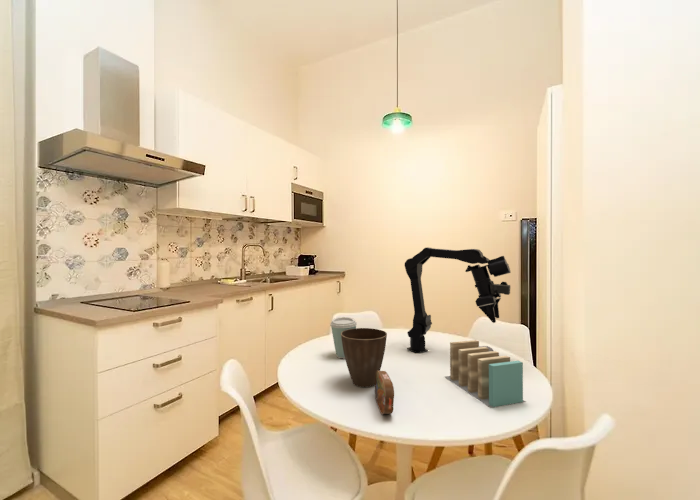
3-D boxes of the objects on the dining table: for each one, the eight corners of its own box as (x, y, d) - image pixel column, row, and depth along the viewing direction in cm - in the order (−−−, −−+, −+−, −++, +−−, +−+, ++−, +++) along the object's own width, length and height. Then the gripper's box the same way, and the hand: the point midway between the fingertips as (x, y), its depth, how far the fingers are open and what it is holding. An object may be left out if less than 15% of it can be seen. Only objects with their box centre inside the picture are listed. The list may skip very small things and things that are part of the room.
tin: (373, 394, 93) (373, 365, 93) (384, 393, 94) (384, 365, 94) (383, 421, 78) (383, 387, 78) (395, 420, 78) (395, 387, 79)
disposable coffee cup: (356, 361, 121) (356, 322, 121) (329, 360, 121) (329, 322, 122) (356, 352, 132) (356, 316, 132) (331, 352, 132) (331, 316, 132)
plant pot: (331, 381, 102) (331, 332, 102) (365, 370, 112) (365, 325, 112) (362, 397, 91) (362, 342, 91) (396, 383, 100) (396, 333, 100)
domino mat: (443, 377, 105) (443, 376, 105) (474, 373, 108) (474, 372, 108) (490, 409, 84) (490, 408, 84) (526, 403, 87) (526, 401, 87)
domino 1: (450, 378, 103) (450, 342, 103) (475, 375, 106) (475, 339, 106) (453, 380, 101) (453, 343, 102) (479, 377, 104) (478, 341, 104)
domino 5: (488, 404, 86) (488, 364, 86) (518, 399, 89) (518, 360, 89) (493, 407, 84) (492, 366, 84) (522, 402, 87) (522, 362, 87)
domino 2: (458, 384, 99) (458, 349, 99) (485, 380, 102) (485, 346, 102) (461, 386, 97) (461, 351, 97) (488, 382, 100) (488, 348, 100)
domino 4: (477, 397, 90) (477, 358, 90) (506, 392, 93) (506, 355, 93) (481, 399, 89) (481, 360, 89) (510, 394, 91) (510, 357, 91)
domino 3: (467, 390, 94) (467, 353, 94) (495, 386, 97) (495, 350, 97) (471, 392, 93) (471, 355, 93) (499, 388, 96) (498, 352, 96)
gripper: (501, 276, 108) (517, 320, 106) (507, 273, 124) (521, 311, 122) (469, 284, 114) (483, 326, 111) (479, 280, 130) (491, 317, 127)
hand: (496, 320), depth 118 cm, fingers open, 9 cm apart
